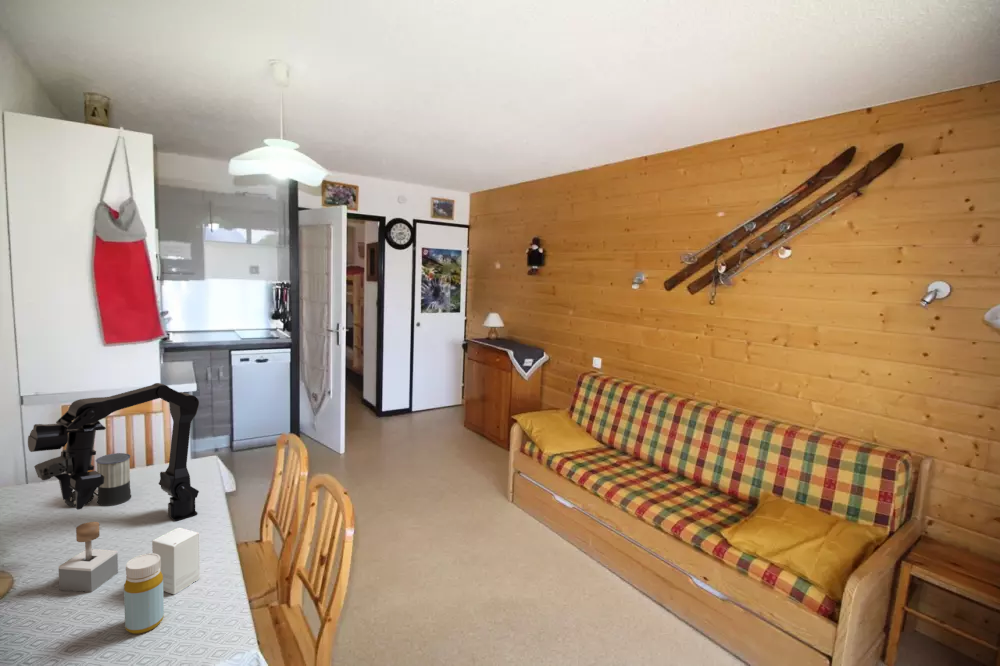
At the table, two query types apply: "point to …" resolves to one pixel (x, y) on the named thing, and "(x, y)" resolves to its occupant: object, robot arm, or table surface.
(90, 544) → the plunger
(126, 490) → the milk frother
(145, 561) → the bottle
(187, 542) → the supplement box
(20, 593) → the table surface
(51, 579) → the table surface
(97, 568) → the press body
